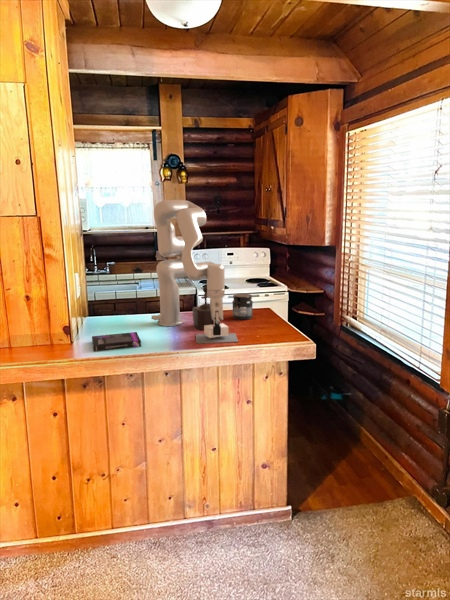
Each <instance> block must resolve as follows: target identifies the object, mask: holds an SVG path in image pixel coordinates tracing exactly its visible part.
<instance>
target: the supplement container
mask: <svg viewBox="0 0 450 600" xmlns="http://www.w3.org/2000/svg"><path fill="white" fill-rule="evenodd" d="M232 298H233V300H232V303H231V304H232V315H231V316H232V318H233V319H235V320H238V321H239V320H240V321H247V320H251V319H252V318H253V316H254V315H253V303H254V302H253V300H252V299H253V296H252V294H250V293H243V292H242V293H236V294H233V297H232Z"/></svg>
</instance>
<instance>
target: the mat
mask: <svg viewBox="0 0 450 600" xmlns="http://www.w3.org/2000/svg"><path fill="white" fill-rule="evenodd" d="M195 340H196V341H195V342H196V344H197V345H198V344H201V345H202V344H224V343H225V344H227V343H228V344H230V343H239V340H238V337H237V334H236V332H233V333H231V332H228V336H220V337H213V338H209V337H207V336H206V335H205V334H203V333H202V334H199V333H198V334H195Z"/></svg>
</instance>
